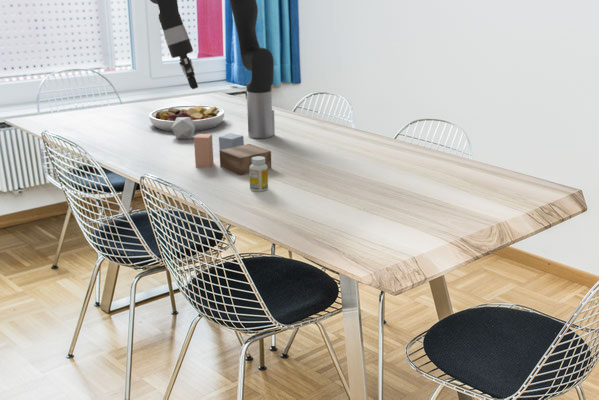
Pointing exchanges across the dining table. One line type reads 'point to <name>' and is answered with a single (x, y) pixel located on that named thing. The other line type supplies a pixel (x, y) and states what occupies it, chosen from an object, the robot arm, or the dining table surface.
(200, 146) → the pillar block
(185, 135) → the die
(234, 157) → the walnut block
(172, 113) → the bowl
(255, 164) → the supplement bottle
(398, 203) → the dining table surface
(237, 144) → the slate cube
